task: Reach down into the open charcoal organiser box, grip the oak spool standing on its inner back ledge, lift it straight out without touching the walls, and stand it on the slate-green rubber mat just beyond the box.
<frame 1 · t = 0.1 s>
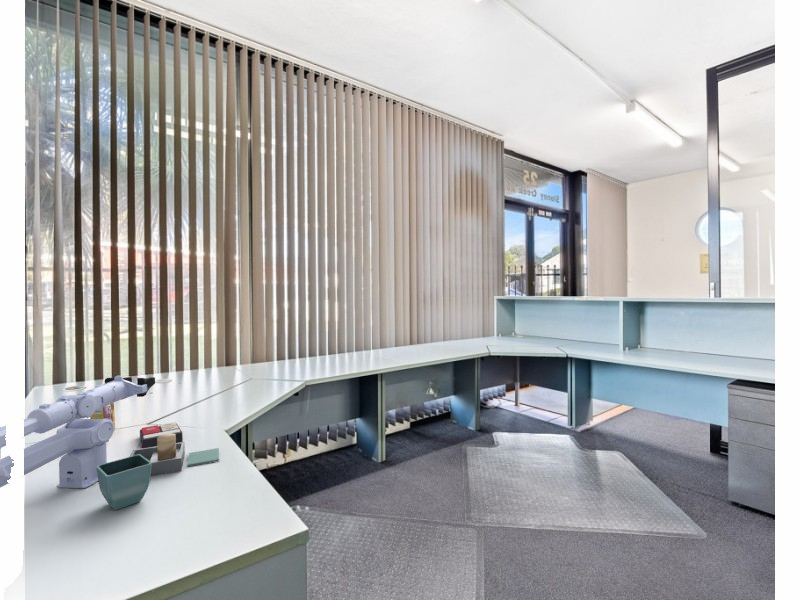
hand: (142, 380, 119), 22 cm above the table, tool horizontal, fingers open, 7 cm apart
organiser box: (156, 466, 107), on the table
candy box: (103, 434, 133), on the table
flower pot: (125, 503, 88), on the table
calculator: (160, 441, 127), on the table
mat: (203, 457, 112), on the table
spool: (166, 457, 108), point 2 cm above the table, touching organiser box
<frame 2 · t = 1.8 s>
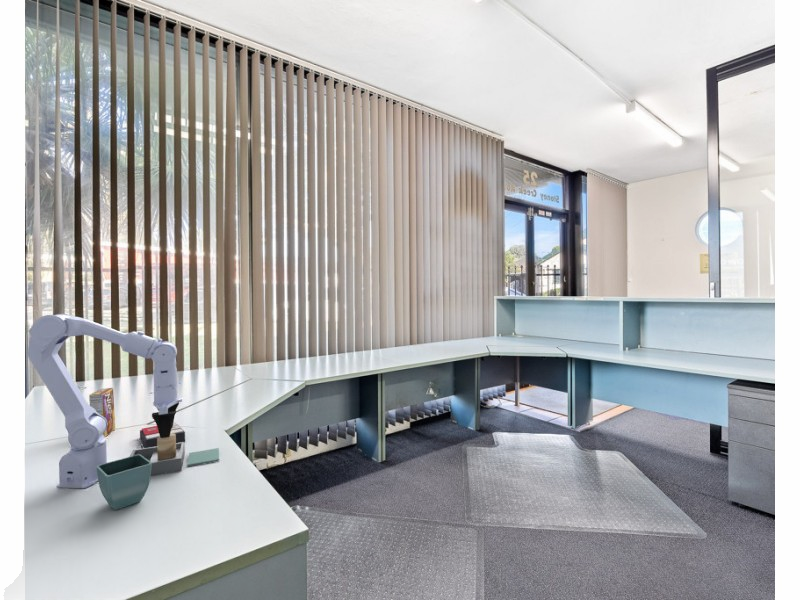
hand: (166, 432, 108), 9 cm above the table, tool pointing down, fingers open, 7 cm apart
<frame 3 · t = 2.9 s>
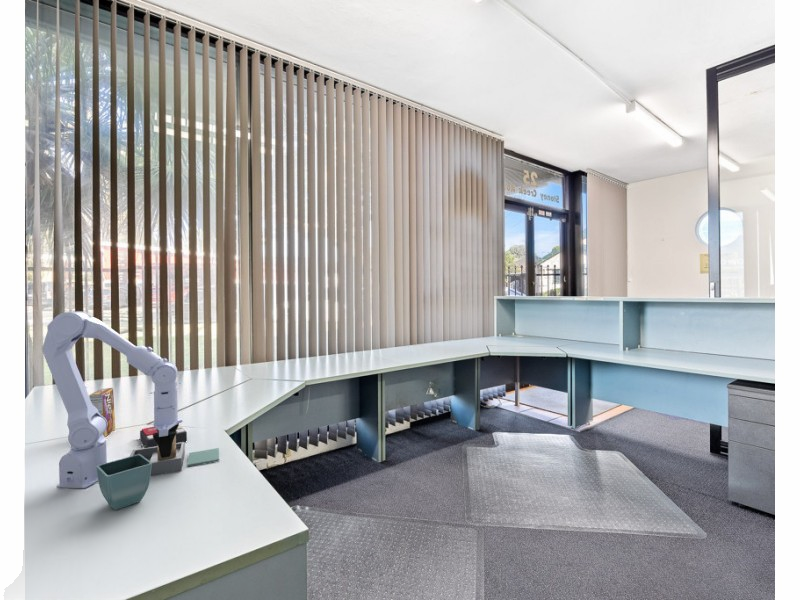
hand: (166, 453, 108), 3 cm above the table, tool pointing down, fingers closed on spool, 4 cm apart
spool: (166, 457, 108), point 2 cm above the table, touching gripper, organiser box
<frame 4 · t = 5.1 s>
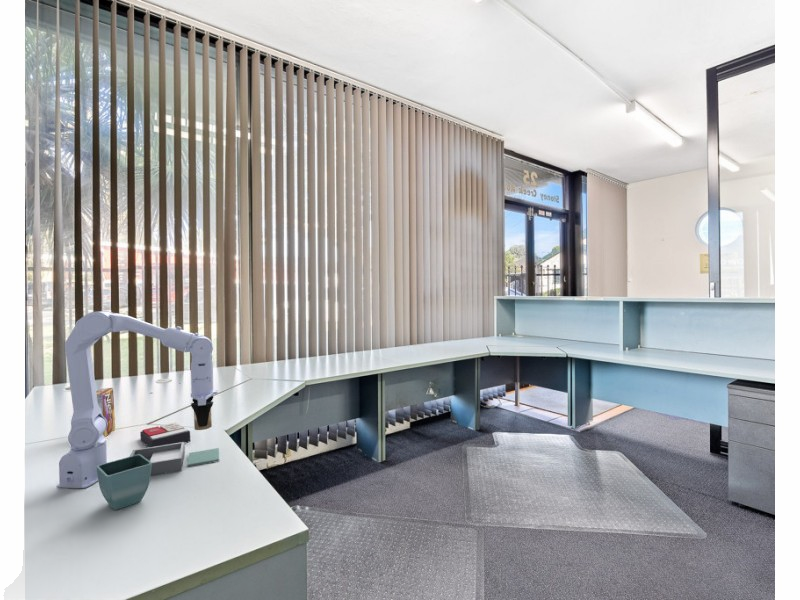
hand: (203, 423, 112), 10 cm above the table, tool pointing down, fingers closed on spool, 4 cm apart
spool: (203, 427, 112), point 9 cm above the table, touching gripper
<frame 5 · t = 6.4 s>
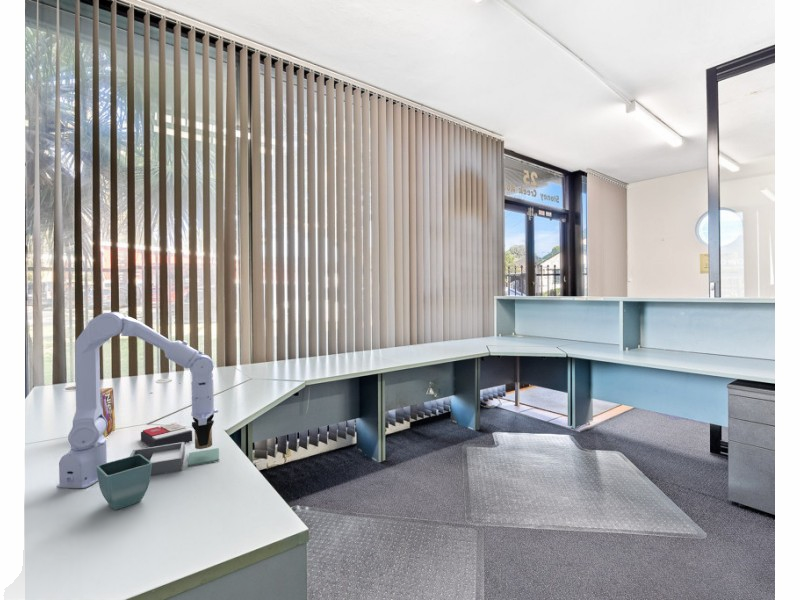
hand: (203, 442, 112), 5 cm above the table, tool pointing down, fingers closed on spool, 4 cm apart
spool: (203, 445, 112), point 4 cm above the table, touching gripper
when the fingers open (3 cm above the table, at t = 7.3 s): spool drops 1 cm, resting on mat.
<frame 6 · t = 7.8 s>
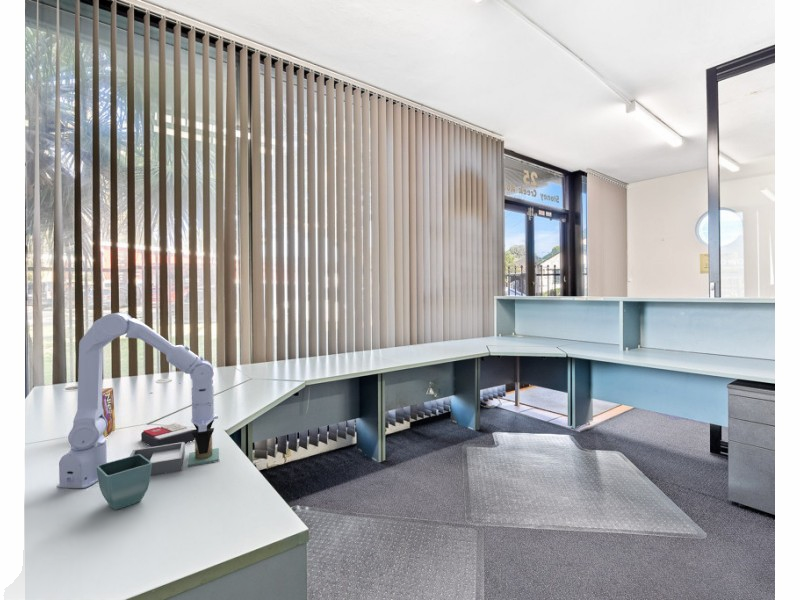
hand: (203, 448, 112), 3 cm above the table, tool pointing down, fingers open, 7 cm apart
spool: (203, 455, 112), point 1 cm above the table, touching mat
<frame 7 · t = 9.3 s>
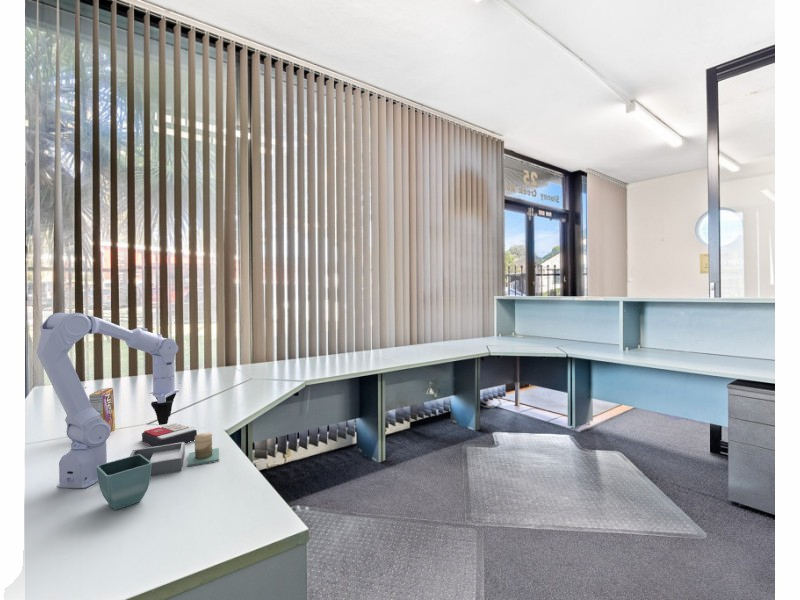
hand: (164, 420, 118), 9 cm above the table, tool pointing down, fingers open, 7 cm apart
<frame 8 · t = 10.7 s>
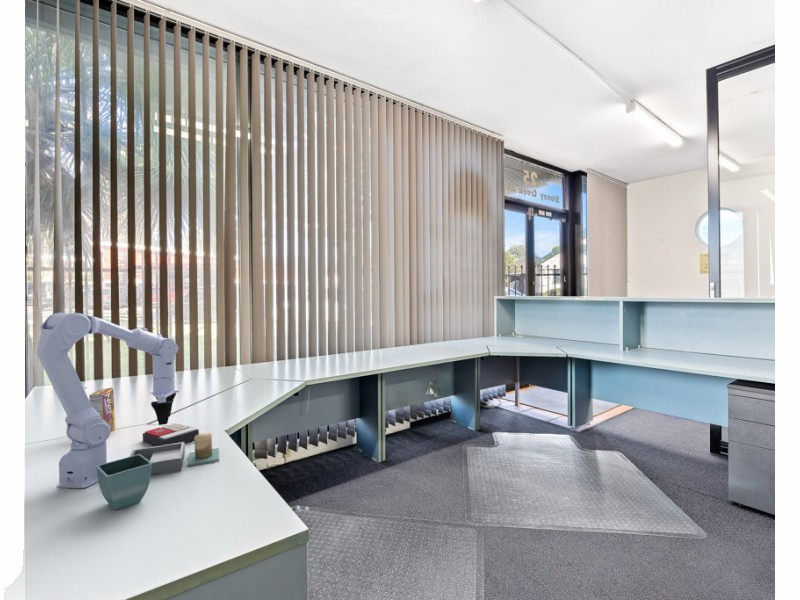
hand: (164, 420, 118), 9 cm above the table, tool pointing down, fingers open, 7 cm apart
at the end: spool 0.0 cm off-centre on the mat, point 0.6 cm above the mat's base; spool tilted 1°; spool touching mat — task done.
